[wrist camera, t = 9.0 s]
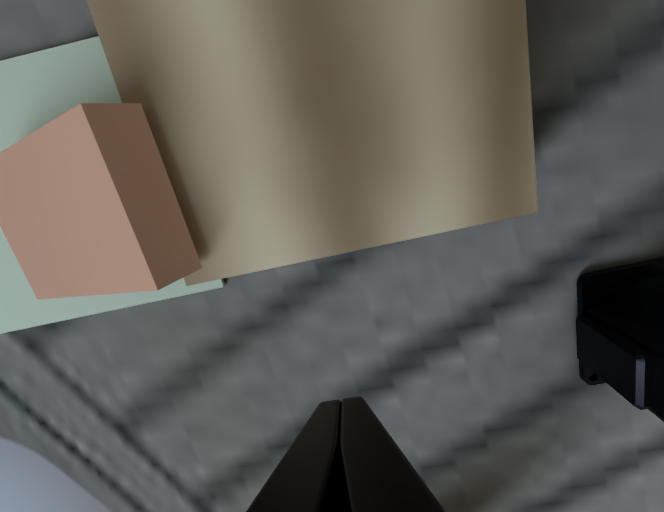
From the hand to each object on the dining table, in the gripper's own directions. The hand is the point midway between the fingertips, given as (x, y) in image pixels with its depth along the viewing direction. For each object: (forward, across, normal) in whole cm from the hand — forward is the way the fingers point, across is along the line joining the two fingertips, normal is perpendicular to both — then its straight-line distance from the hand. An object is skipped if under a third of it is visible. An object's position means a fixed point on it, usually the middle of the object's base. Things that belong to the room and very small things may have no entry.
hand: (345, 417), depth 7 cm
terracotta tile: (+9, +9, -4) cm, 14 cm away
